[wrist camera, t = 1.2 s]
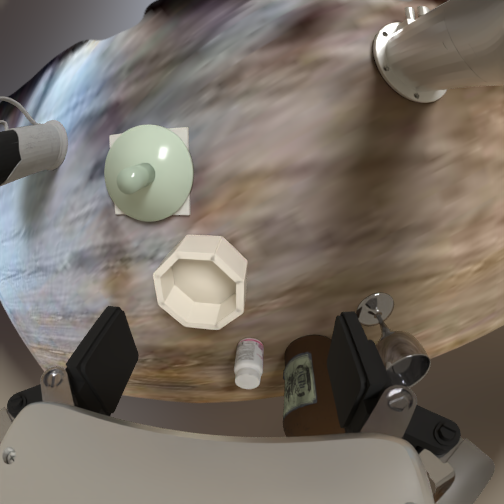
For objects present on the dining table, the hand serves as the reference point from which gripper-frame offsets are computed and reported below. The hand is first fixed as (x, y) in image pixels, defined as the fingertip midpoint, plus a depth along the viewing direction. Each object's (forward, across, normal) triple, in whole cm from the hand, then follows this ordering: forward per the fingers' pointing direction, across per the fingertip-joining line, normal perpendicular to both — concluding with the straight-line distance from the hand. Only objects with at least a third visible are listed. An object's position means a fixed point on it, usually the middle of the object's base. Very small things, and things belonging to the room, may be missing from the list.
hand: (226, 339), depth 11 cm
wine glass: (+27, -21, +18) cm, 39 cm away
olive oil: (+27, -10, +28) cm, 40 cm away
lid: (+26, +14, -4) cm, 30 cm away
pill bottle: (+28, 0, +26) cm, 38 cm away
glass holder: (+28, +34, -14) cm, 46 cm away
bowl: (+27, +7, +11) cm, 30 cm away
